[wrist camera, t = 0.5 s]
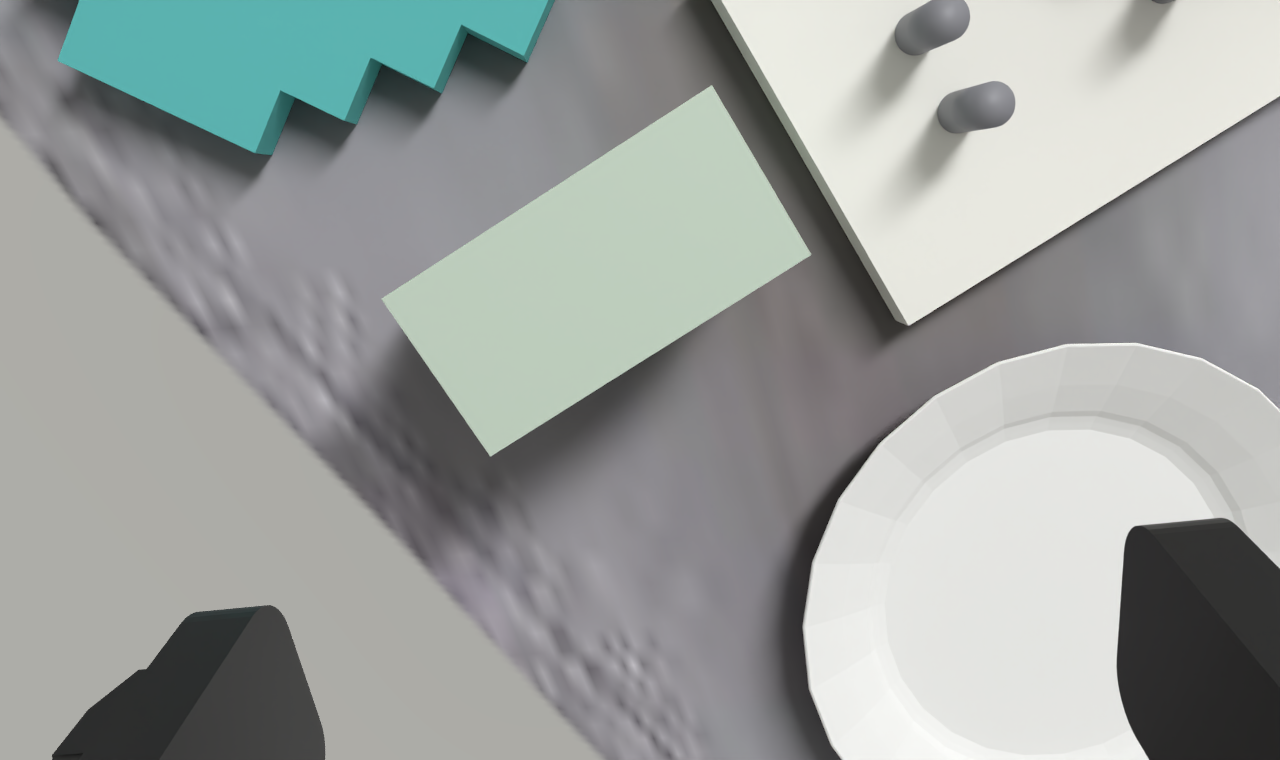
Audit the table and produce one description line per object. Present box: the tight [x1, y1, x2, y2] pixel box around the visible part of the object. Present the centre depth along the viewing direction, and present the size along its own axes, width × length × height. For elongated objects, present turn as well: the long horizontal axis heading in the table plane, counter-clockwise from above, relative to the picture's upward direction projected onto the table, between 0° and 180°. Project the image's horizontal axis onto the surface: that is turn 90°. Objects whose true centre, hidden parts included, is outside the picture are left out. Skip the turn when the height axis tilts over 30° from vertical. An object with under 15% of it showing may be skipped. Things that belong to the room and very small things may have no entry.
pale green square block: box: [382, 85, 811, 457], centre depth 30 cm, size 5×10×10 cm, turn 122°
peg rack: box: [711, 0, 1280, 326], centre depth 32 cm, size 14×18×4 cm
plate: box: [802, 343, 1280, 760], centre depth 37 cm, size 21×21×2 cm
